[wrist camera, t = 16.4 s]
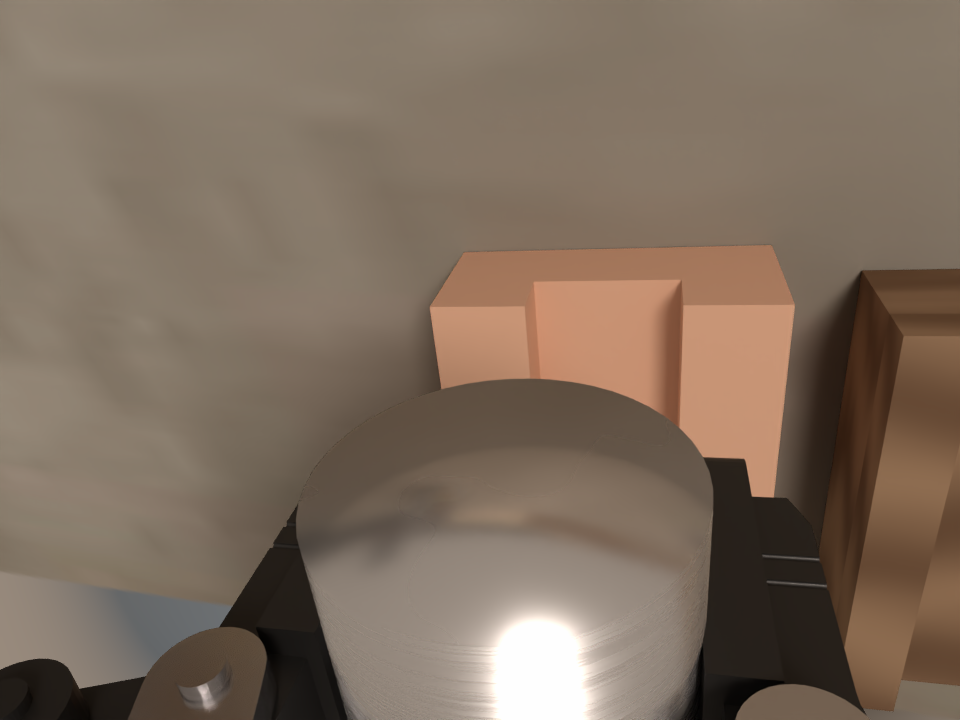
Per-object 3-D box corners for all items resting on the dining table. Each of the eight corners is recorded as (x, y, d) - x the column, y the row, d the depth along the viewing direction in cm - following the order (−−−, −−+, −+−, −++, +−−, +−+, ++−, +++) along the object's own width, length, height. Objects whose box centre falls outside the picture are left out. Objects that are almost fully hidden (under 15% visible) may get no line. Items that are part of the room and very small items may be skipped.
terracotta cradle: (464, 252, 28) (429, 306, 24) (771, 245, 26) (794, 304, 21) (486, 447, 32) (461, 522, 28) (752, 457, 30) (768, 542, 25)
